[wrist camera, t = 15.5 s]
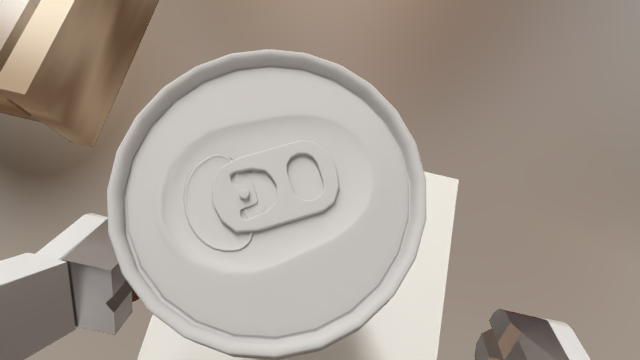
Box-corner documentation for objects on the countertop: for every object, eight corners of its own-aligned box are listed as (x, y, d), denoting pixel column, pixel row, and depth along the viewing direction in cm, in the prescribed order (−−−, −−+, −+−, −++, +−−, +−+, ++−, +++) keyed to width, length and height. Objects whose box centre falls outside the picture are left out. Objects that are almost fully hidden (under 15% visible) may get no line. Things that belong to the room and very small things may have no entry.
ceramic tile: (419, 458, 16) (424, 464, 15) (131, 389, 16) (125, 393, 15) (453, 183, 19) (458, 180, 19) (220, 127, 19) (218, 122, 19)
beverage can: (218, 226, 17) (70, 82, 6) (320, 195, 18) (369, 13, 6) (246, 335, 16) (129, 432, 4) (355, 297, 17) (492, 297, 5)
